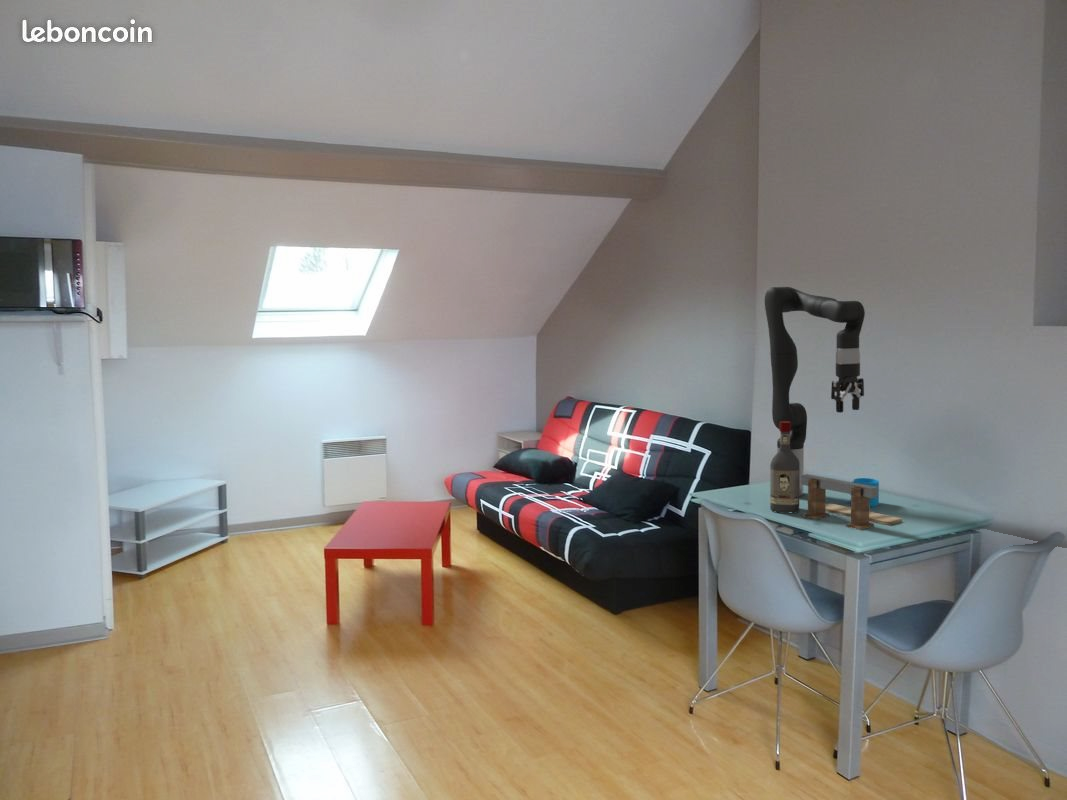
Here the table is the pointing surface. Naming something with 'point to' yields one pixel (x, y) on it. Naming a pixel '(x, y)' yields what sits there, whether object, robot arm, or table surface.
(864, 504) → the post
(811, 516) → the post
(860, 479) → the mug
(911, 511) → the table surface
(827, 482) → the rail
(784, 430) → the liquor
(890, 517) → the mat
